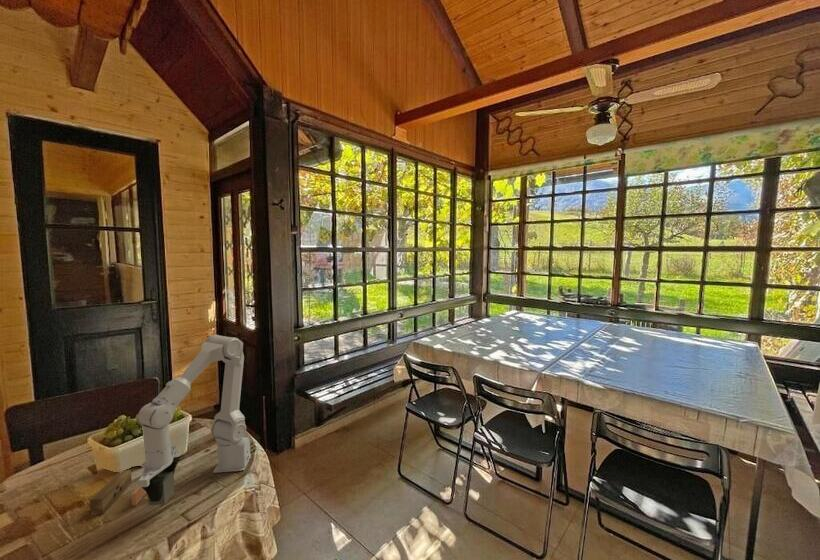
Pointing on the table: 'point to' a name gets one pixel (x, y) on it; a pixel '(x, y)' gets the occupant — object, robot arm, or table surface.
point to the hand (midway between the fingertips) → (161, 493)
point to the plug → (164, 488)
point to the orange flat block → (137, 495)
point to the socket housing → (110, 492)
